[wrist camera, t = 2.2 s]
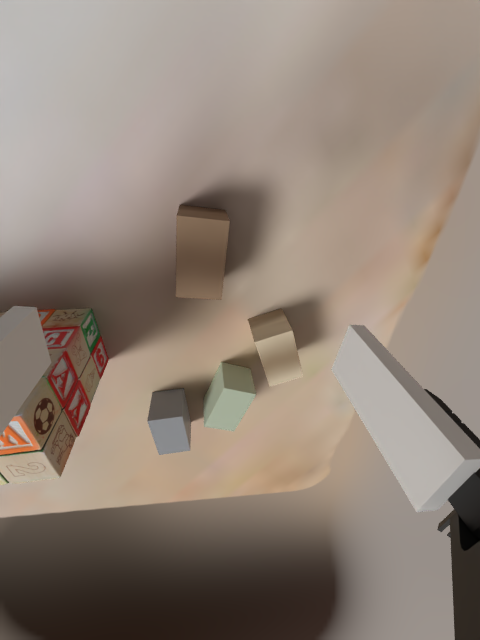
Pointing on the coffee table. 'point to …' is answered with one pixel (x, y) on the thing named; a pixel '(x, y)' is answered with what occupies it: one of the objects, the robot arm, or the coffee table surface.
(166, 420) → the grey brick
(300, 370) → the maple brick
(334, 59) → the coffee table surface
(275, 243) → the coffee table surface
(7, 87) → the coffee table surface
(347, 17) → the coffee table surface
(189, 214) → the walnut brick
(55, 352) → the stack of blocks
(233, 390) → the sage brick
